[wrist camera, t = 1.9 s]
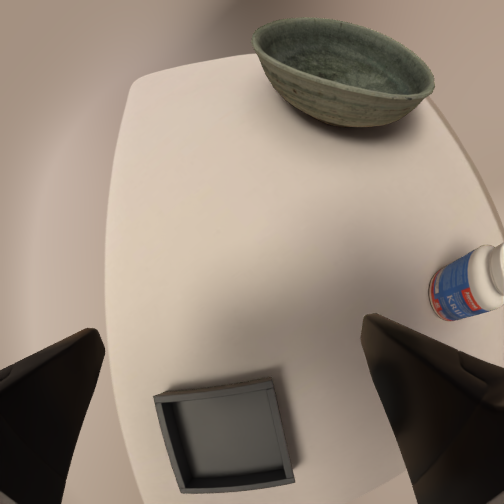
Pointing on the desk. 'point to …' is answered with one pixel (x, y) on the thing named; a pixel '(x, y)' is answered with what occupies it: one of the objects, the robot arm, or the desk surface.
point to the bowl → (342, 71)
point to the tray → (225, 437)
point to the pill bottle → (469, 284)
